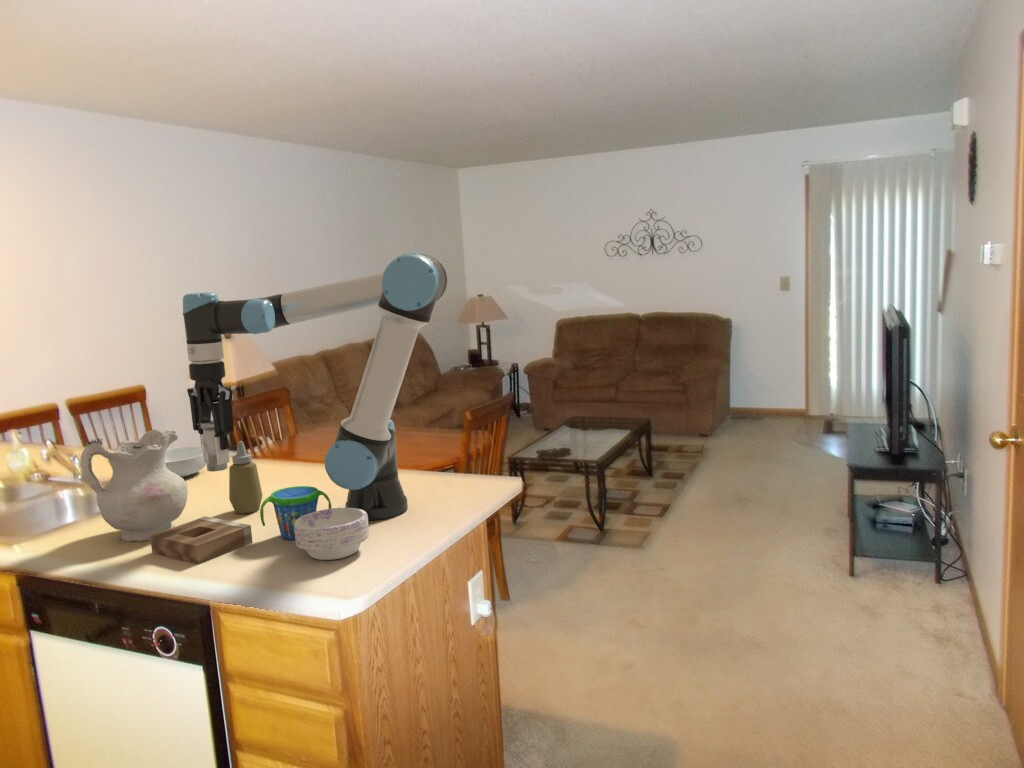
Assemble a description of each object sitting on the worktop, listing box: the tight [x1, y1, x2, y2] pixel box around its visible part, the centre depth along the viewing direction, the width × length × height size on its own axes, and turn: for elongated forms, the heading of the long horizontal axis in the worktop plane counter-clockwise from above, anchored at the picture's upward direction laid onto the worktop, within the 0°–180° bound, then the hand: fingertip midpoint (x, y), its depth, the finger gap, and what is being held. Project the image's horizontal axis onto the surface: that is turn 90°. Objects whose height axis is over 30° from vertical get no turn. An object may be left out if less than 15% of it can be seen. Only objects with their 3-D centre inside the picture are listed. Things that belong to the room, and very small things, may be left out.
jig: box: [149, 515, 253, 565], centre depth 175 cm, size 16×14×4 cm
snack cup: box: [259, 485, 333, 541], centre depth 179 cm, size 16×10×10 cm
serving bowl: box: [165, 445, 207, 479], centre depth 242 cm, size 21×21×7 cm
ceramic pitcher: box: [80, 428, 189, 543], centre depth 185 cm, size 22×20×25 cm
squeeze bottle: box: [228, 440, 263, 515], centre depth 200 cm, size 8×8×18 cm
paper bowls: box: [294, 507, 370, 561], centre depth 167 cm, size 15×15×8 cm
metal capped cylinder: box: [200, 419, 228, 472], centre depth 182 cm, size 5×5×11 cm
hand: (216, 461), depth 182 cm, fingers closed on metal capped cylinder, 4 cm apart
